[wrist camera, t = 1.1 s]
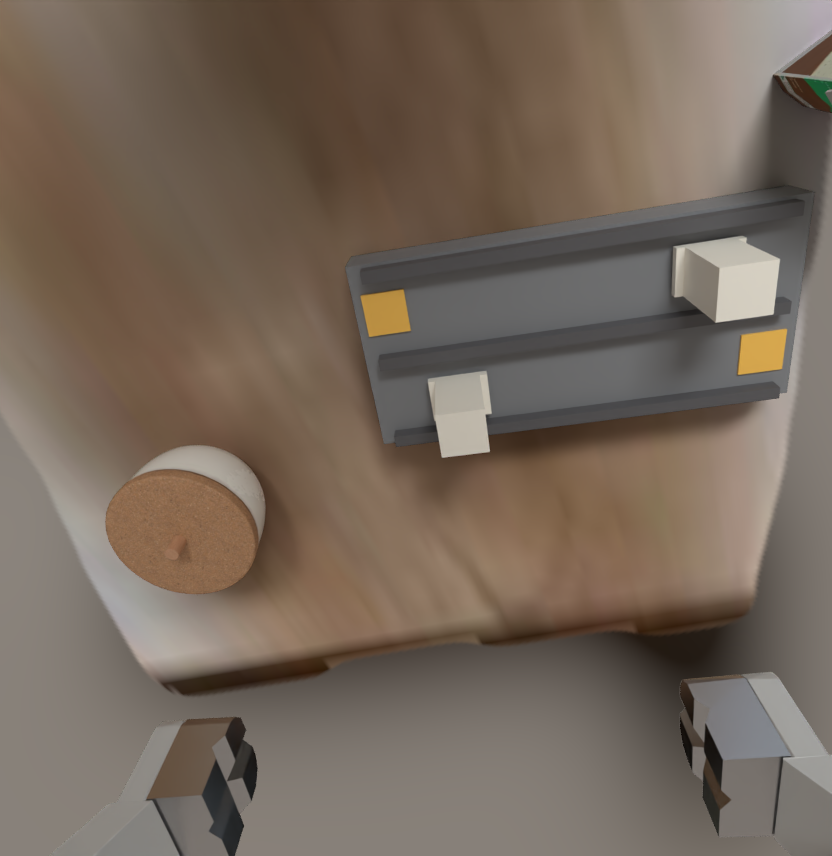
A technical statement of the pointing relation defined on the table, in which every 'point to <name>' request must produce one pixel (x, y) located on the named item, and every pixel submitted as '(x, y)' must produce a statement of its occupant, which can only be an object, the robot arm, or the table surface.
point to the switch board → (577, 317)
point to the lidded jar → (189, 520)
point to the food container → (810, 76)
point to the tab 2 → (726, 278)
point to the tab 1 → (461, 412)
